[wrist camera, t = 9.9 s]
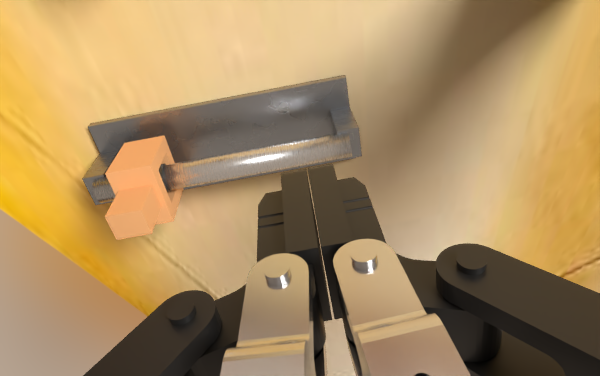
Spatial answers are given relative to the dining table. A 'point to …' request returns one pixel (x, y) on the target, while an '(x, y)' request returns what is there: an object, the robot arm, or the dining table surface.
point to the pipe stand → (236, 136)
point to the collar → (140, 188)
